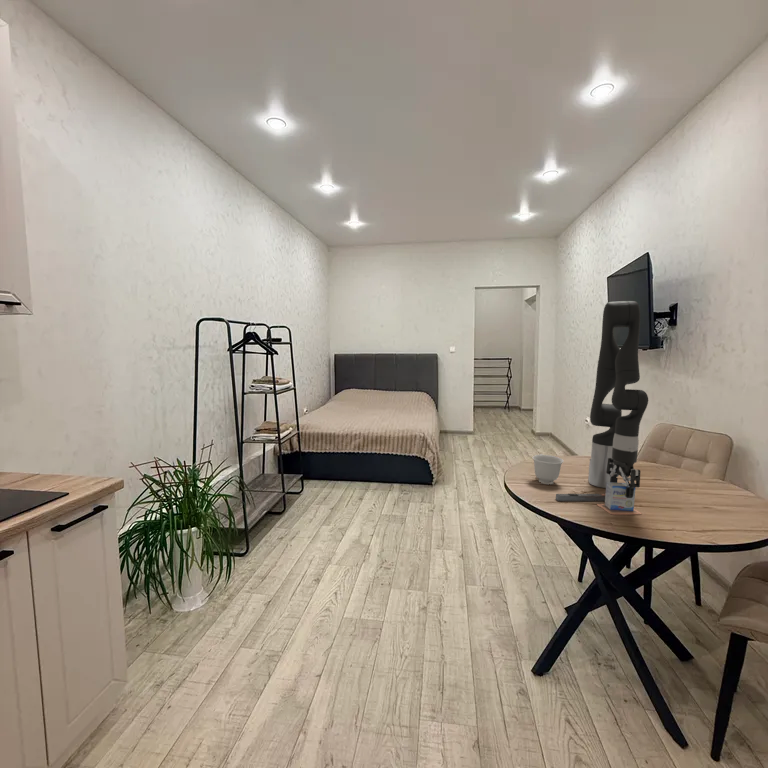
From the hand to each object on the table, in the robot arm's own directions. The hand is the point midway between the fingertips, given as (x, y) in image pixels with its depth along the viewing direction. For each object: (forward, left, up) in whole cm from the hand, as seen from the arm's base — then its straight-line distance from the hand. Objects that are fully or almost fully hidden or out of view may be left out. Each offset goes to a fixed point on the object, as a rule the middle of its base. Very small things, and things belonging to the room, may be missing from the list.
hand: (620, 492), depth 143 cm
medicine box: (0, 0, -6) cm, 6 cm away
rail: (-8, -6, -6) cm, 12 cm away
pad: (0, 0, -6) cm, 6 cm away
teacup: (-29, -13, -6) cm, 32 cm away
